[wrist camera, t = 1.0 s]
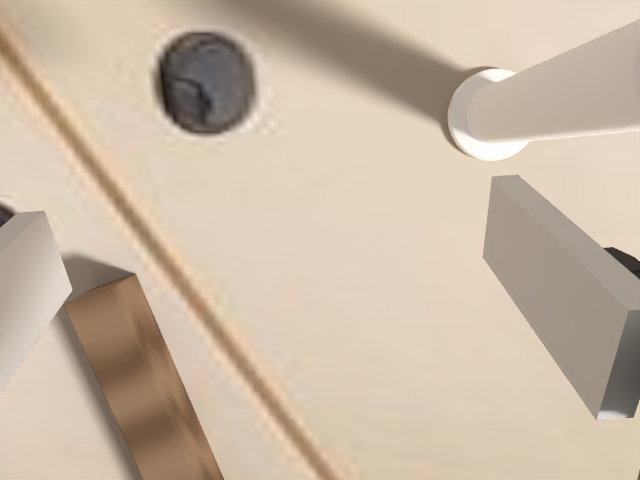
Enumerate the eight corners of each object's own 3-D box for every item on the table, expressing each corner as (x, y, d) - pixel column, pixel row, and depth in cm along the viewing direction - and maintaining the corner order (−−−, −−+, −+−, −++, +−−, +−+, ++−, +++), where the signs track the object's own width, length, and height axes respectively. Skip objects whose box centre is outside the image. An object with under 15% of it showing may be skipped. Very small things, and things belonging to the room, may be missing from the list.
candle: (439, 154, 40) (636, 143, 15) (455, 63, 39) (696, -108, 14) (525, 166, 40) (858, 175, 15) (543, 76, 39) (935, -70, 14)
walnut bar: (239, 512, 45) (229, 555, 40) (199, 525, 45) (184, 569, 41) (136, 272, 42) (112, 288, 37) (93, 288, 42) (63, 305, 37)
